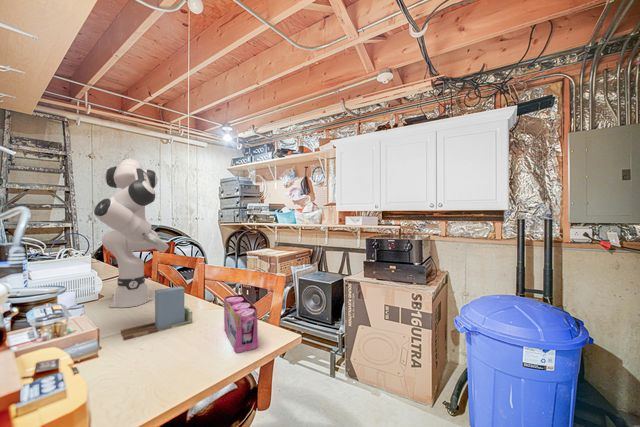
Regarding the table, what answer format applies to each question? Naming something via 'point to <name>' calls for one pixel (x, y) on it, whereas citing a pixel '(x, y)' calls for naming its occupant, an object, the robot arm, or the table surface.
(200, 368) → the table surface
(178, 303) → the pillar block
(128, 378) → the table surface
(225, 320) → the gum box
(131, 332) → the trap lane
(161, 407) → the table surface
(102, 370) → the table surface
